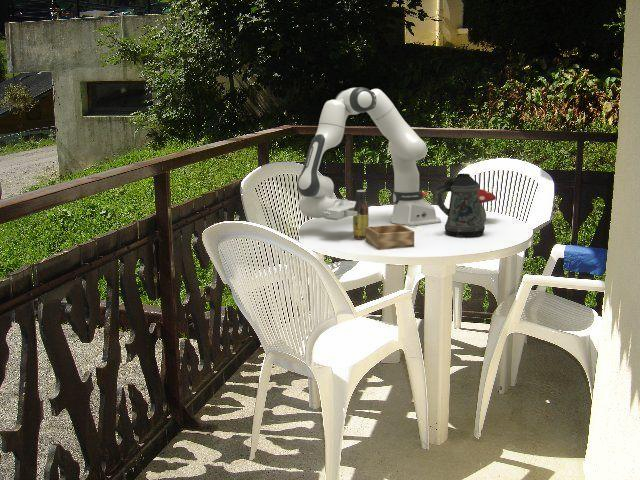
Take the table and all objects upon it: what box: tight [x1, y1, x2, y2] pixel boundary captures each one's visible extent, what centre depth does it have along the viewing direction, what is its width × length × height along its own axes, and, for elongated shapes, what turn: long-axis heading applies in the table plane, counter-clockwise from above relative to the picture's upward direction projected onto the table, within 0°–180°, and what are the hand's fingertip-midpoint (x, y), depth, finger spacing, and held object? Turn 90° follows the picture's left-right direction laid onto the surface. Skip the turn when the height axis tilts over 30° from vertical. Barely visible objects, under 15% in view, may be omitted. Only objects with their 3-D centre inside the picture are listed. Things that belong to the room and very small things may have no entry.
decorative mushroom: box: [478, 188, 497, 223], centre depth 347 cm, size 16×16×15 cm
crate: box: [365, 224, 415, 251], centre depth 307 cm, size 15×15×6 cm
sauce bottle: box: [352, 189, 370, 240], centre depth 317 cm, size 6×6×20 cm
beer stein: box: [435, 173, 486, 239], centre depth 321 cm, size 16×19×25 cm
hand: (362, 212), depth 316 cm, fingers closed on sauce bottle, 6 cm apart
